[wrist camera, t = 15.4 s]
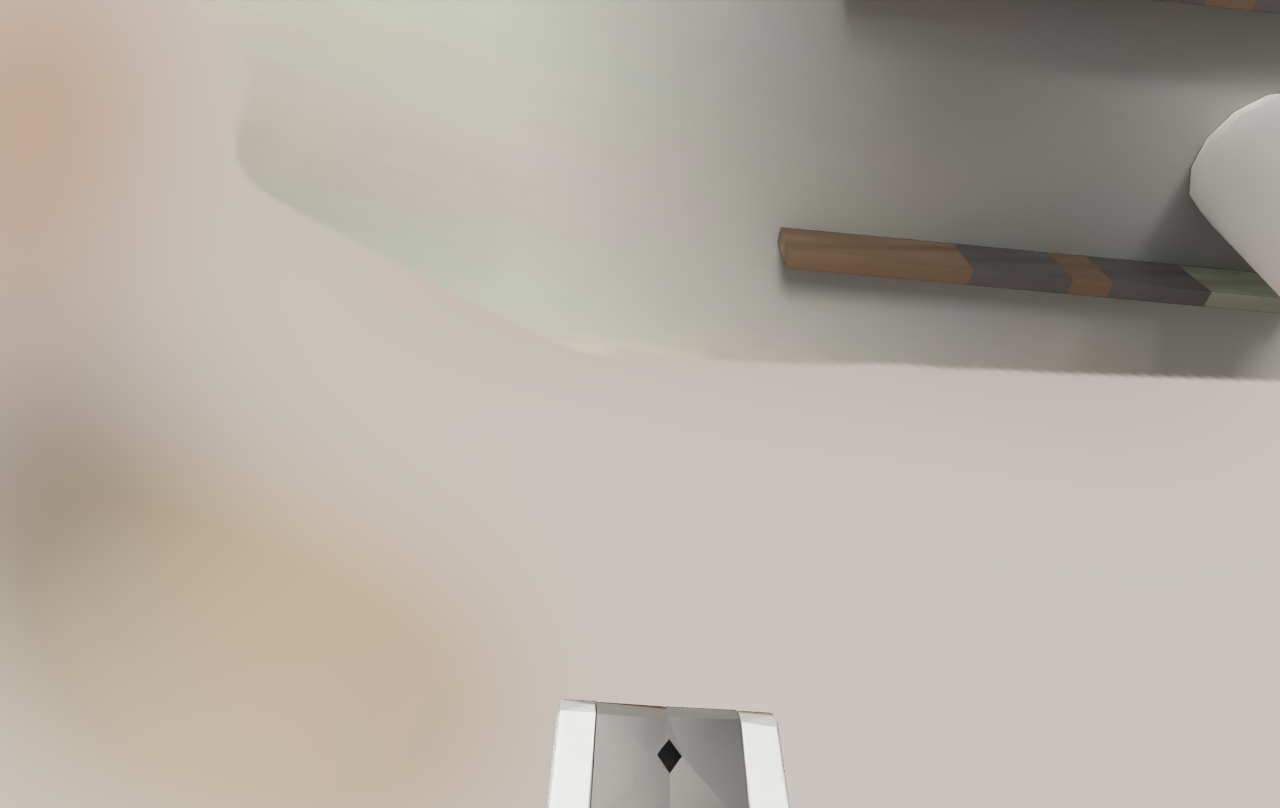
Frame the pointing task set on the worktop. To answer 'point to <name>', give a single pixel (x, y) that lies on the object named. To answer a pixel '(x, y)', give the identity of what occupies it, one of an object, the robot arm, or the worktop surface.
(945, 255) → the channel
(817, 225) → the worktop surface
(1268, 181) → the foam cup
